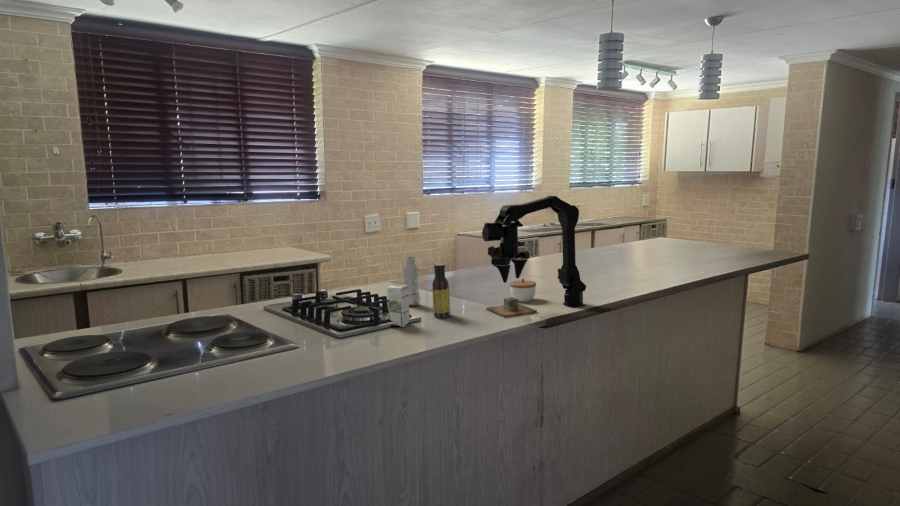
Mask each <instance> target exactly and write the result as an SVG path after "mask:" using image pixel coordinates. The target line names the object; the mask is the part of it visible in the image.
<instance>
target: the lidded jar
mask: <svg viewBox="0 0 900 506" xmlns="http://www.w3.org/2000/svg"><path fill="white" fill-rule="evenodd" d="M536 285H537V283H536V282H535V281H533V280H525V279H524V278H521V280H520V279H519V280H513V281H511V282H509V288H510V289H509V291H510V295H511V297H514V298H516V299H518V303H526V302H527V303H528V302H530V301H532V300H533V298H534V297H535V295H536V290H537V288H536V287H537V286H536Z"/></svg>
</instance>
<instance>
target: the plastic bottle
mask: <svg viewBox="0 0 900 506" xmlns="http://www.w3.org/2000/svg"><path fill="white" fill-rule="evenodd" d="M419 272H420V269H419V266H417V264H416V257H415V256H406V258H405V264H404V267H403V269H402V273H403V279H404V280H403V281H404V285H408V295H409V307H414V306H415V307H416V306H418V305H420V303H421V295H420V291H419V290H420V289H419Z"/></svg>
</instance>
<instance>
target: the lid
mask: <svg viewBox="0 0 900 506" xmlns="http://www.w3.org/2000/svg"><path fill="white" fill-rule="evenodd" d="M485 310H487V311H489V312H492V313H494V314H496V315H499V316H501V317H503V318H508V317H514V316H520V317H522V316H521V315H527V314H533V315H535V314H534V313H537V312H538V310H536V309H534V308H531V307H528V306H526V305H523V304H521V303H519V302H518V299H516V298H514V297H512V296H511V297H505V298H504V297H503V305H502V304H501V305H495V306H490V307H486V309H485ZM527 316H528V315H527ZM514 318H515V317H514ZM508 319H509V318H508Z"/></svg>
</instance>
